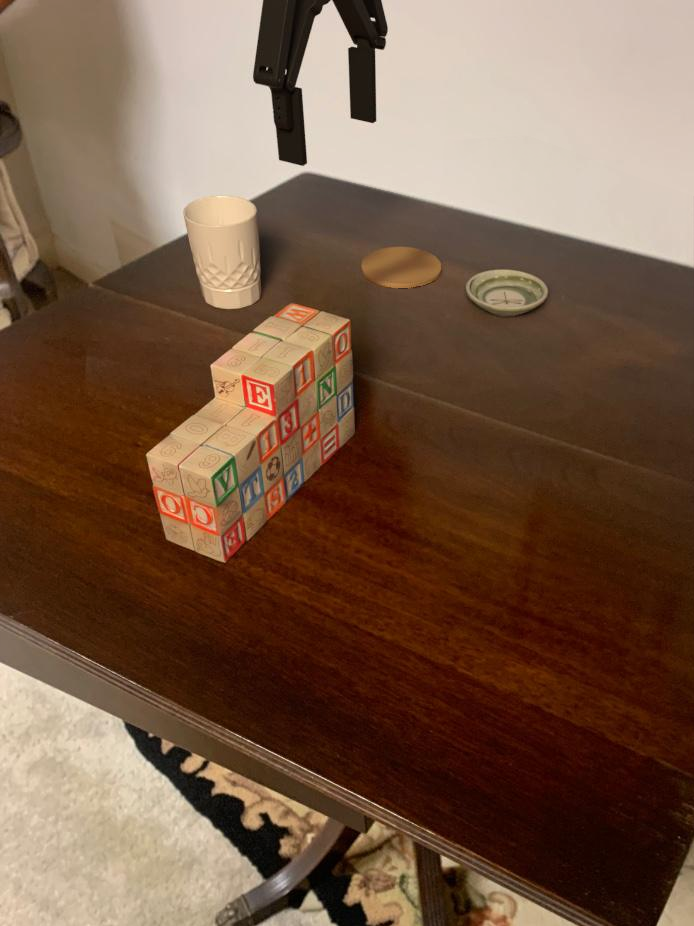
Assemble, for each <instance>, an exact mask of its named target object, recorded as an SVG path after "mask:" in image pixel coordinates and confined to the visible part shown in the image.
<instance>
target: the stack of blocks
mask: <svg viewBox="0 0 694 926" xmlns="http://www.w3.org/2000/svg"><path fill="white" fill-rule="evenodd" d="M351 326H352V325H351V320H350V319H349V318H345V317H342V316H339V315H336V314H332V313H329V312H327V311H323V310H322V311H320V310H318V309H315V308H311V307H307V306H304V305H301V304H297V303H293V302H290V303H289V304H287V305H286V306H285V307H284V308H283V309H281V310H280V311H278V312H276V314H274V315H273V316H272V315H271V316H269V317H268V318H266V319H265V320H264V321H263V322H261V323H260V324H259V325H258V326H256V327H255V328H254V329H253V330H252V332H249V333H248V334H246V335H245V336H244V337H243V338H242V339H240V340H239V341H238V342H237V343H236V344H234V345H233V346H232V347H231V348H230V349H229V350H227V351H226V352H225V353H224V354H222V355H221V356H220V357H219V358H217V359H216V360H215V361H214V362H212V363H211V364H210V373H211V378H212V386H213V393H214V397H213V398H212V399H211V400H210V401H209V402H208V403H207V404H205V405H203V407H202V408H201V409H199V410H198V411H197V412H196V413H194V414H193V415H191V416H190V417H188V418H187V419H186V420H185V421H184V422H182V423H181V424H180V425H179V426H177V427H176V428H175V429H174V430H172V431H171V432H170V433H169V435H167V436H166V437H165V438H164V439H162V440H161V441H160V442H159V443H157V444H155V446H153V448H152V449H150V450H149V451H147V453H146V454H145V456H146V461H147V464H148V465H147V466H148V470H149V473H150V478H151V481H152V484H153V485H152V490H153V495H154V499H155V501H156V502H155V503H156V506H157V511H158V513H159V517H160V521H161V524H162V528H163V533H164V535H165V539H166V540H167V541H169V542H171V543H173V544H176V545H179V546H181V547H183V548H186V549H189V550H190V551H194V552H196V553H197V554H199V555H203V556H205V557H208V558H211V559H213V560H215V561H218V562H221V563H227V562H228V561H229V560H230V559H231V557H232V556H234V555H235V553H236V552H237V551H239V550H240V549H241V547H242V546H243V545H244V544H245V543H246V542H248V541H250V539H251V538H253V536H255V534H256V533H257V532H258V531H259V530H260V529H262V528H263V526H265V524H266V523H267V521H269V520H270V519H271V518H272V517H273V516H274V515H276V513H277V512H278V511H280V509H281V508H282V507H284V505H286V503H287V501H288V500H289V499H290V498H291V497H292V496H293V495H294V494H295V493H296V492H297V491H298V490H299V489H300V488H301V487H302V486H303V485H304V484H305V482H307V481H308V480H309V479H310V478H311V477H312V476H313V475H314V474H315V473H316V472H317V471H318V470H319V469H320V468H321V466H323V465H324V464H326V463H327V462H328V461H329V460H330V459H331V458H332V456H334V455H335V454H336V453H337V452H338V451H339V450H340V448H342V447H343V446H344V445H345V444H346V443H347V442H348V441H349V440H350V439H351V438H352V437H353V436H354V435H355V433H356V424H355V423H356V420H355V418H356V417H355V407H354V404H355V403H354V381H353V379H354V363H353V362H354V360H353V350H352V331H351V329H352V327H351Z"/></svg>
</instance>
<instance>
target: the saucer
mask: <svg viewBox="0 0 694 926" xmlns="http://www.w3.org/2000/svg"><path fill="white" fill-rule="evenodd" d="M465 292H466V295H467V297H468V298H469V299H470V300H471V301H472V302H473V303H475V305H476V306H478V307H479V308H480V309H482V310H483V311H486V312H489V313H490V314H491V315H494V316H497V317H498V316H499V317H505V316H506V317H508V318H509V316H510V317H516V315H517V316H520V315H522V314H526V313H528V312H530V311H532V310H534V309H536V308H537V307H539V306H540V305H542V304H543V303H544V302H545V301H546V300H547V298H548V295H549V289H548V287H547V285H546V283H545V282H544V280H542V279H540V278H539V277H537V276H535V275H533V274H531V273H529V272H528V273H527V272H524V271H520V270H515V269H490V270H485V271H482V272H479V273H476V274H475V275H473V276H472V277H470V278H469V279H468V281H467V282H466V284H465ZM519 314H520V315H519Z"/></svg>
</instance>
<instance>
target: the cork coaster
mask: <svg viewBox="0 0 694 926" xmlns="http://www.w3.org/2000/svg"><path fill="white" fill-rule="evenodd" d="M442 269H443V268H442V262H441V260H439V258H438V257H437V256H436V255H434V254H432V253H431V252H429V251H426V250H424V249H420V248H416V247H411V246H410V247H409V246H391V247H384V248H379V249H376V250H374V251H372V252H370V253H368V254H366V255H365V256H364V257H363V259H362V260H361V263H360V271H361V273H362V275H363V276H364V278H366V280H369V282H371V283H374V284H376V285H378V286H381V287H384V288H390V287H391V289H398V288H408V289H414V288H413V287H416V286H421V287H424V286H423V285H425V286H427V285H426V284H428V283H430V284H432V283H433V282H432V281H434V280H435V281H436V279H437V278H438V277H439V278H440V276H441V275H440V274H442ZM439 275H440V276H439ZM439 278H438V279H439ZM438 279H437V280H438ZM435 281H434V282H435ZM431 282H432V283H431ZM428 285H429V284H428ZM411 287H412V288H411Z"/></svg>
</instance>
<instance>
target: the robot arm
mask: <svg viewBox="0 0 694 926" xmlns="http://www.w3.org/2000/svg"><path fill="white" fill-rule="evenodd" d="M331 1H332V3H333V5H334V6H335V9H336V12H337V13H338V15H339V18H340V19H341V21H342V23H343V25H344V27H345V29H346V31H347V33H348V35H349V37H350V39H351V41H352V43H353V45H356V46H350V47H348V48H347V55H348V56H347V58H348V84H349V85H348V86H349V112H350V114H349V115H350V116H349V117H350V119H353V120H356V121H361V122H364V123H370V124H374V123H376V122H377V79H376V77H377V75H376V74H377V73H376V72H377V71H376V70H377V69H376V50H380V51H383V50H385V48H386V47H387V46H386V45H387V39H386V36H387V35H388V30H389V27H388V22H387V18H386V14H385V11H384V10H385V9H384V5H383V1H382V0H262V5H261V13H260V20H259V28H258V34H257V43H256V49H255V58H254V64H253V72H252V79H253V80H252V81H253V82H254V83H255V84H256V85H260V86H265V87H268V88H269V89H270V93H271V104H272V114H273V116H272V117H273V123H274V126H275V133H276V134H275V135H276V143H277V145H276V146H277V153H278V155H277V156H278V160H279V161H281V162H284V163H289V164H293V165H298V166H301V167H305V165H307V164H308V157H307V156H308V155H307V154H308V153H307V143H306V128H305V127H306V126H305V115H304V99H303V88H302V87H297V86H296V85H297V82H298V78H299V74H300V71H301V67H302V64H303V60H304V56H305V54H306V49H307V46H308V43H309V39H310V35H311V33H312V28H313V25H314V21H315V18H316V17H317V16H319V15H320V14H321V13H322V11H323V8H324V6H325V5H328V4H329V3H330V2H331ZM372 19H374V20H372Z"/></svg>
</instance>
